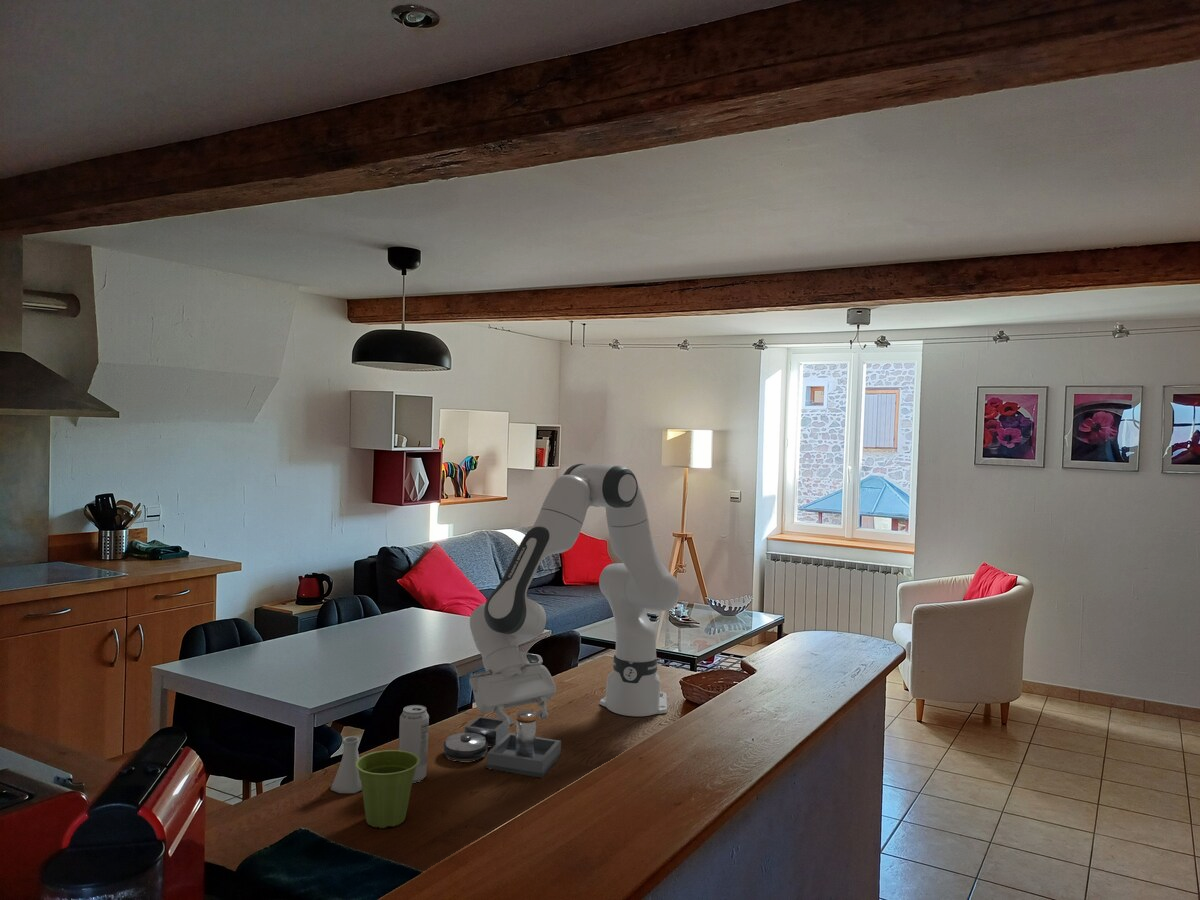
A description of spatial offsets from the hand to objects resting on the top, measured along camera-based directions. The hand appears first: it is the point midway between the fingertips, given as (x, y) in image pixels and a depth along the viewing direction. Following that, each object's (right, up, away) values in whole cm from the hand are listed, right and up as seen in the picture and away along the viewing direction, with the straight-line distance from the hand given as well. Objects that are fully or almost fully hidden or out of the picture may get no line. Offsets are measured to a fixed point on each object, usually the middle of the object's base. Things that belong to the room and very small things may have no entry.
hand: (527, 721), depth 186 cm
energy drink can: (-24, -9, -11) cm, 27 cm away
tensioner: (-13, -9, +8) cm, 18 cm away
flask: (-35, -8, -16) cm, 40 cm away
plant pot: (-24, -9, -29) cm, 39 cm away
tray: (-1, -9, +1) cm, 9 cm away
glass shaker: (-1, -8, +1) cm, 8 cm away
